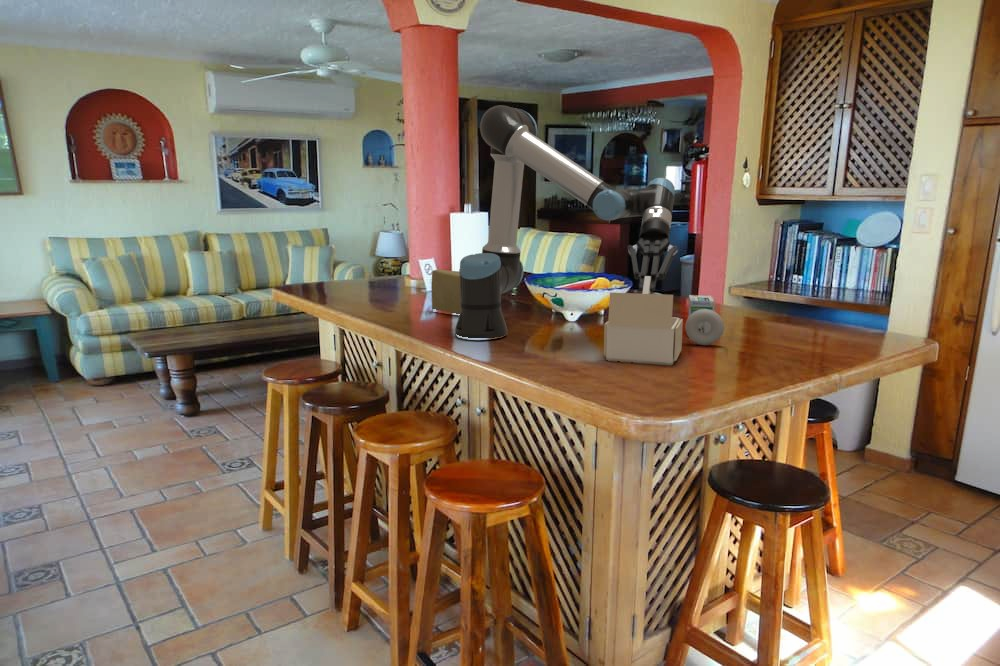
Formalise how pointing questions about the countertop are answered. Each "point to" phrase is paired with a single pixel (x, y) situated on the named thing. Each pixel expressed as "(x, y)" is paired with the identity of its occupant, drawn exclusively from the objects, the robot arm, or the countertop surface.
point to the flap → (640, 310)
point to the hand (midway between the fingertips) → (645, 300)
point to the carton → (643, 343)
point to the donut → (709, 317)
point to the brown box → (446, 291)
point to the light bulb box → (701, 303)
